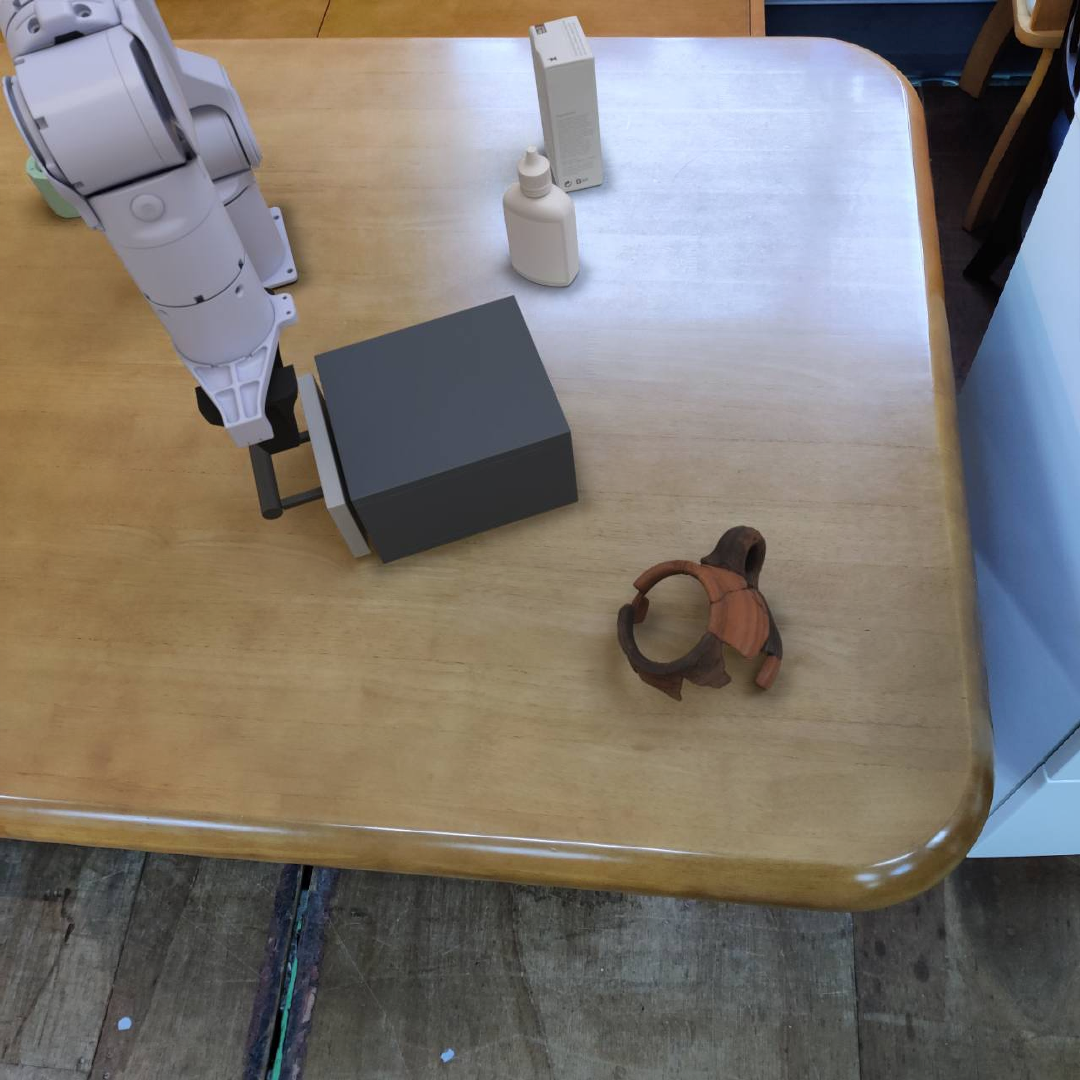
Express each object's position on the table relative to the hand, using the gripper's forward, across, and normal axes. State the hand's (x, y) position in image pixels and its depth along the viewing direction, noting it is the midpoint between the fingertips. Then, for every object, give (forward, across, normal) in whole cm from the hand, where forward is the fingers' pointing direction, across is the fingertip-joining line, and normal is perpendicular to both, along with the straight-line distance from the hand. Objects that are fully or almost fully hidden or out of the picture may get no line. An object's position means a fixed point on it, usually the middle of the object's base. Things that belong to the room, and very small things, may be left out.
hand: (278, 421), depth 61 cm
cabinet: (+10, 0, -10) cm, 15 cm away
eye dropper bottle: (+11, +16, -22) cm, 29 cm away
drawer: (+9, 0, -6) cm, 11 cm away
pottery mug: (+11, -19, -22) cm, 31 cm away
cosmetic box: (+11, +27, -28) cm, 41 cm away
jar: (+10, +42, +16) cm, 46 cm away
